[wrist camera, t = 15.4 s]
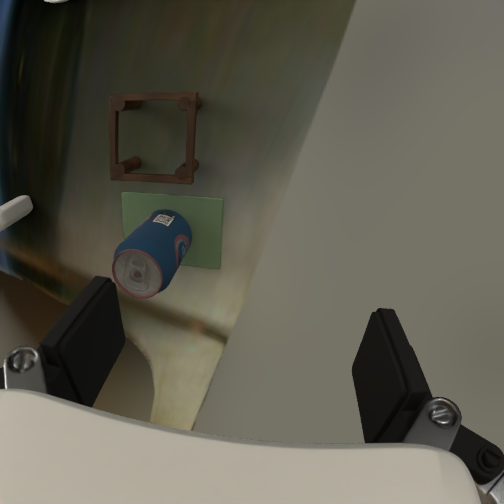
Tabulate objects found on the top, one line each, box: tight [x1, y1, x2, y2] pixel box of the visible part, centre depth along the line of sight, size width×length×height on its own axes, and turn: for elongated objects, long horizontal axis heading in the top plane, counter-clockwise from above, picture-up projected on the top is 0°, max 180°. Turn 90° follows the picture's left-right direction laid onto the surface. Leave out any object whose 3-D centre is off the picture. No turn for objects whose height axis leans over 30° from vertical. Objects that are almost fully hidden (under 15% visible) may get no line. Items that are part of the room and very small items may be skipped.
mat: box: [121, 192, 223, 269], centre depth 43 cm, size 14×10×1 cm
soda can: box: [112, 209, 192, 298], centre depth 37 cm, size 7×7×12 cm
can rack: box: [110, 92, 202, 184], centre depth 35 cm, size 10×10×5 cm
